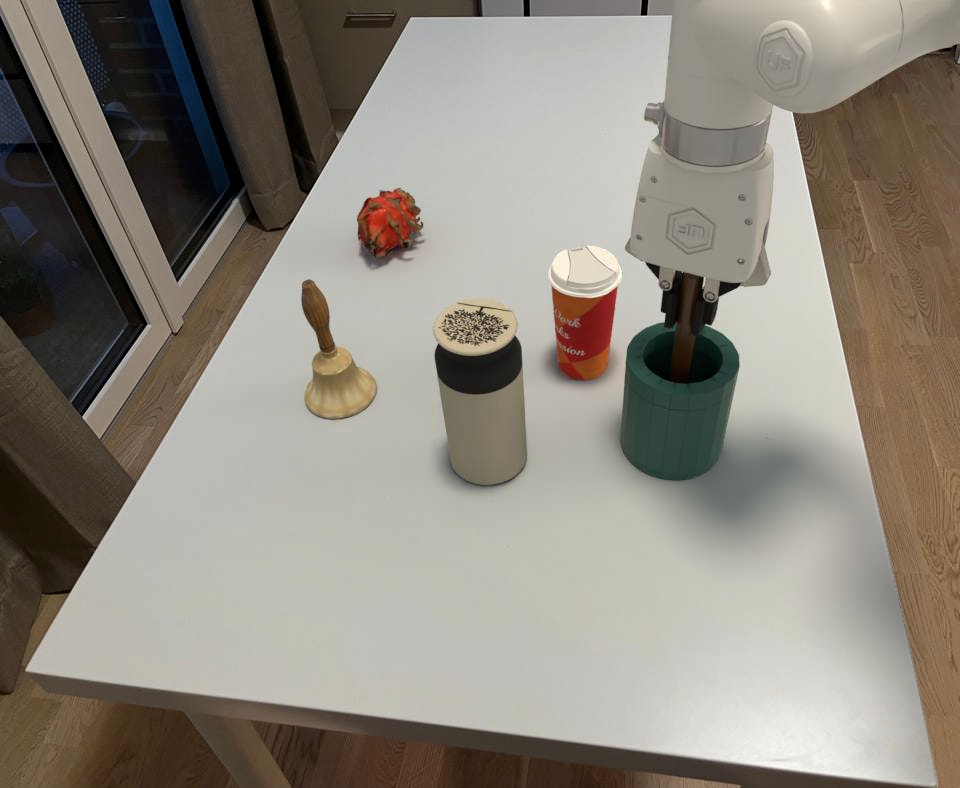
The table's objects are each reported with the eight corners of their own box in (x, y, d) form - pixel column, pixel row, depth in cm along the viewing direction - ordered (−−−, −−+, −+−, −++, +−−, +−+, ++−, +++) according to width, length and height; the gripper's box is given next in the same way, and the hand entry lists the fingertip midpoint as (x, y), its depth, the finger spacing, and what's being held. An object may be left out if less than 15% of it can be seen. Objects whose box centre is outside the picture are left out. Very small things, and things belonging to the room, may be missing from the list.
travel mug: (507, 497, 79) (496, 364, 66) (437, 472, 82) (413, 340, 69) (539, 441, 84) (534, 307, 71) (472, 420, 86) (456, 288, 74)
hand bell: (372, 418, 88) (344, 305, 77) (299, 421, 88) (260, 309, 77) (380, 366, 94) (355, 254, 82) (311, 369, 94) (277, 259, 83)
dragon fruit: (419, 229, 117) (384, 286, 110) (370, 196, 115) (331, 252, 108) (442, 197, 110) (406, 256, 103) (390, 160, 108) (350, 218, 101)
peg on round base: (699, 423, 81) (727, 264, 67) (684, 453, 79) (711, 293, 65) (658, 410, 83) (677, 252, 69) (643, 438, 81) (659, 280, 67)
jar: (734, 424, 83) (753, 338, 75) (702, 494, 77) (719, 408, 69) (641, 395, 87) (650, 310, 79) (605, 459, 81) (609, 374, 73)
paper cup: (542, 348, 94) (539, 249, 84) (604, 336, 94) (609, 237, 85) (559, 393, 88) (558, 293, 78) (626, 380, 89) (633, 279, 79)
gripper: (593, 134, 59) (588, 324, 72) (813, 175, 53) (764, 375, 66) (631, 91, 63) (620, 278, 76) (838, 125, 57) (787, 322, 70)
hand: (686, 321), depth 71 cm, fingers closed on peg on round base
